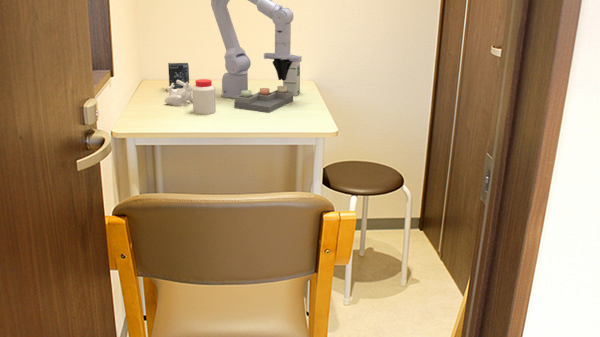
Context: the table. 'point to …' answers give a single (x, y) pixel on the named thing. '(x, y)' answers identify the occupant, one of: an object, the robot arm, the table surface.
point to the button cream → (282, 89)
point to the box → (178, 74)
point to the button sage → (246, 93)
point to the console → (264, 101)
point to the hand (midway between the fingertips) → (282, 79)
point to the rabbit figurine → (179, 94)
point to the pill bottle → (204, 97)
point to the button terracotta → (264, 91)
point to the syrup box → (293, 78)
